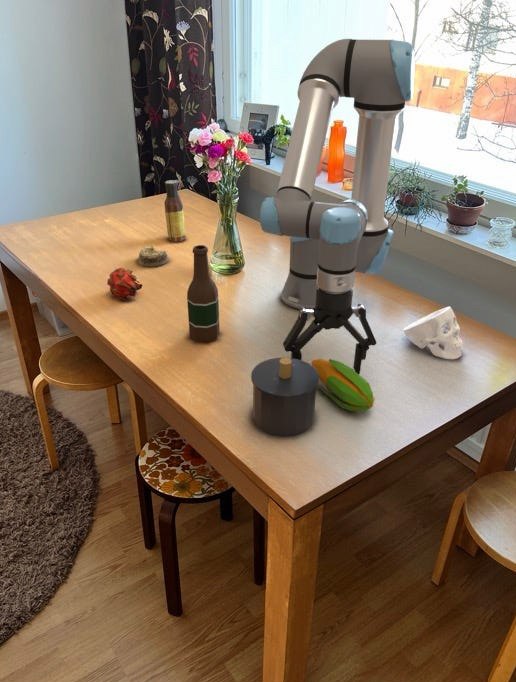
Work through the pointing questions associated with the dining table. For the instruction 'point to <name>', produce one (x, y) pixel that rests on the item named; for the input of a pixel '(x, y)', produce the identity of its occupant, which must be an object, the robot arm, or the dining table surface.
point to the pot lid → (285, 377)
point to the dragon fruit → (123, 283)
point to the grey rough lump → (152, 257)
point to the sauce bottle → (174, 213)
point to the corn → (344, 385)
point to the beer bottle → (202, 300)
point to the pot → (283, 413)
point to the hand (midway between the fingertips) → (327, 373)
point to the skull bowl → (437, 333)
